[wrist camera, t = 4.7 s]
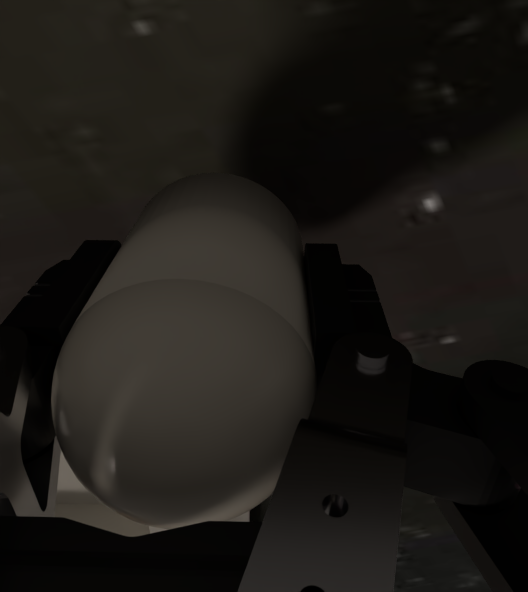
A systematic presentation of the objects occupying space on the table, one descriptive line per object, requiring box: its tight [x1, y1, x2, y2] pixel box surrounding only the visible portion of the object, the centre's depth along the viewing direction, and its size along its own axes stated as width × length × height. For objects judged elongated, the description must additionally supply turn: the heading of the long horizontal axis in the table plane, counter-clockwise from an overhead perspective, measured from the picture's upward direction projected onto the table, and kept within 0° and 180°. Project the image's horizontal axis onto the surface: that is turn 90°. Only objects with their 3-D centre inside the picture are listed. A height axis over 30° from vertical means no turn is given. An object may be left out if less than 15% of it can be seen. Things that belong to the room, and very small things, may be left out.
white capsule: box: [51, 173, 317, 529], centre depth 10 cm, size 4×4×7 cm
